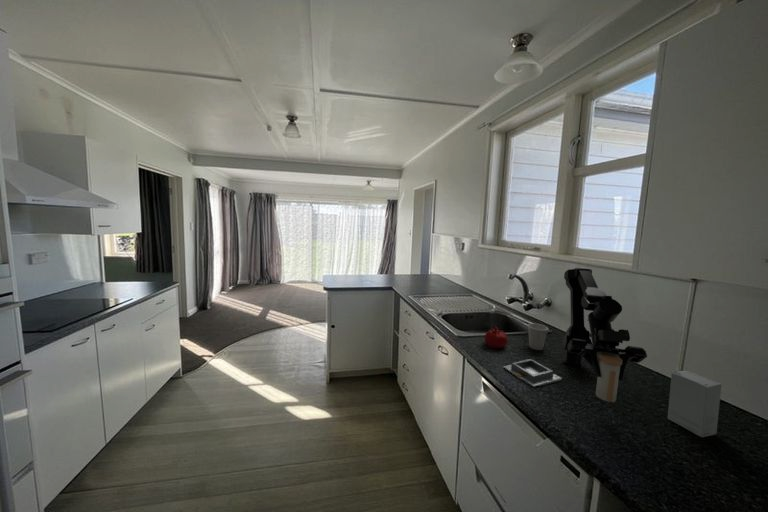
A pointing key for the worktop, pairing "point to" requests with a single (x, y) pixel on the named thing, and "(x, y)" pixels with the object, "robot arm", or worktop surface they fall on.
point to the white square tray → (532, 372)
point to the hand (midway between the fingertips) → (610, 378)
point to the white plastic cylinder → (608, 377)
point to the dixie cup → (537, 336)
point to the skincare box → (694, 403)
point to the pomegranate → (496, 338)
